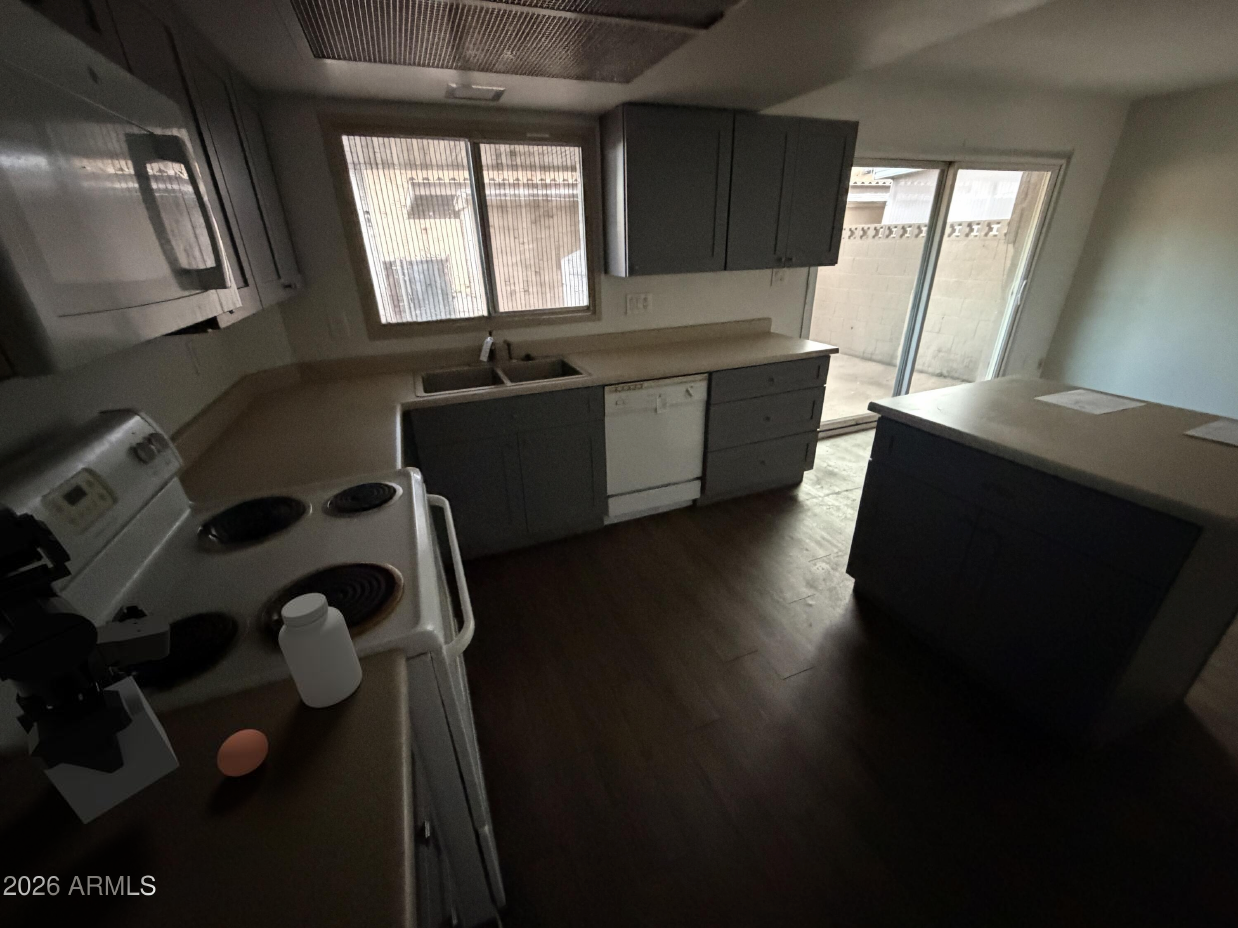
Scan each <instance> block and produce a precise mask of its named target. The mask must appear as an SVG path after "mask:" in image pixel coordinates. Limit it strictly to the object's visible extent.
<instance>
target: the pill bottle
mask: <svg viewBox="0 0 1238 928" xmlns="http://www.w3.org/2000/svg"><path fill="white" fill-rule="evenodd" d="M280 613H281V618H282V621H283V624H284V625H282V627H281V628H280V631H279V634H278V645H279V647H280V649H281V652H282V655H283V656H284V659H285V661H286V663H287V666H288V669H289V671H290V673H291V676H292V679H293V681H294V683H295V685H296V688H297V690H298V693H299V694H300V697H301V699H302V701H303V703H304V704H305V705H307V706H309V707H310V708H319V709H320V708H326V707H329V706H333V705H336V704H337V703H340V702H342V701H343V700H345V699H346V698H348V697H349V696H351V694H353V693H354V692H355V691H356V690H357V688H358V687H359V685H360V684H361V682H362V678H363V671H362V668H361V664H360V662H359V661H360V660H359V659H358V656H357V655H358V654H357V652H356V650H355V647H354V644H353V641H352V638H351V636H350V633H349V629H348V626H347V624H346V621H345V618H344V615H343V614H342V612H340V610H339V609H338V608H335V607H333V606H329V604H328V600H327V598H326V596H325V595H324V594H322V593H319V592H312V593H311V592H310V593H306V594H303V595H299V596H297V597H295V598H294V599H292V600H290V601H289V602H287V603H286V604H285V605H284V606H283V607H282V609H281V612H280Z"/></svg>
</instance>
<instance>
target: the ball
mask: <svg viewBox="0 0 1238 928" xmlns="http://www.w3.org/2000/svg"><path fill="white" fill-rule="evenodd" d="M268 749H269V742H268V738H267V737H266V735H265V734H264V733H263V732H261V731H260V730H257V729H243V730H240V731H238V732H235V733H234V734H232V735H230V736H229V737H228V738H227V739H226V740H225V741H224V742H223V743H222V745H221V747H220V748H219V750H218V753H217V757H216V764H217V766H218V769H219V770H220V771H221V773H222V774H224V775H226V776H230V777H240V776H245V775H247V774H250V773H251V772H253V771H254V770H255V769H257V768H259V766H260V765H261V764H262V763H263V761H264V760H265V758H266V756H267V754H268Z"/></svg>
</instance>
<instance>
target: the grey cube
mask: <svg viewBox="0 0 1238 928" xmlns="http://www.w3.org/2000/svg"><path fill="white" fill-rule="evenodd" d="M103 690H118V691H119V692H120V694H121V695H122V697H123V699H124V701H125V703H126V704H127V706H128V709H129V711H130V714H131V717H132V719H133V722H132V723H131V724H130V725H129V726H128V727H127V728H126V729H124V730H122V731H120V732H118V733H117V738H118V742H119V746H120V750H121V754H122V758H123V762H124V766H123V767H122V768H120V769H118V770H117V771H115V772H113V773H106V772H101V771H97V770H93V769H89V768H84V767H80V766H75V765H70V764H64V763H61V764H59V765H57V766H56V767H54V768H52V769H49V770H42V772H43V773H45V775H46V776H47V777H48V779H49V781H51V783H52V784H53V785H54V786H55V788H56V789H57V790H58V791H59V793H60V794H61V796H62V797H63V798H64V800H65V801H66V802H67V803H68V804H69V806H70V807H71V809H72V810H73V811H74V812H75V814H76V815H77V816H78V818H79V819H80V820H81V821H82V823H83V824H84V825H86V824H89V822H91V821H93V820H94V819H96V818H98V817H100V816H101V815H102V814H104V813H106V812H108V811H109V810H111V809H112V808H114V807H115V806H117V805H119V804H121V803H122V802H123V801H125V800H127V799H128V798H130V797H132V796H133V795H135V794H137V793H139V792H140V791H142V790H143V789H145V788H146V787H148V786H150V785H151V784H153V783H154V782H156V781H157V780H159V779H161V778H162V777H165V776H166V775H168V774H169V773H171V772H173V771H174V770H176V769H177V768H179V767H180V763H179V761H178V758H177V756H176V753H175V751H174V750H173V748H172V745H171V743H170V740H169V738H168V736H167V733H166V731H165V729H164V728H163V726H162V724H161V723H160V721H159V719H158V717H157V715H156V714H155V712H154V711H153V709H152V708H151V706H150V704H149V703H148V700H147V699H146V697H145V696H144V694H143V692H142V691H141V689H140V688H139V685H138V684H137V683H136V681H135V679H134V677H133V676H132V675H130V676H128V678H126V679H124V680H122V681H120V682H117V683H115V684H113V685H111V686H109V687H107V688H105V689H103ZM34 724H35V723H34Z"/></svg>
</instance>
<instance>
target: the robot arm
mask: <svg viewBox="0 0 1238 928" xmlns="http://www.w3.org/2000/svg"><path fill="white" fill-rule="evenodd" d="M39 550H40V551H41V552H42V553H43V555H44V556H45V558H46V559H47V560H48V561H49V562H50V564H51V565H52V566H50V567H49V565H48V564H47V563H42V564H40V565H37V566H34V567H31V568H29V569H25V570H24V568H25V567H26V568H27V567H28V566H31V565H33V564H34V565H35V564H36V563H39V562H41V561H42V562H43V559H44V556H43V555H42V553H41V552H40V551H39ZM69 562H72V559H71V555H70V553H68V551H67V550H66V549H65V547H64V546H63V545H62V543H61V542H60V541H59V539H58V538H57V537H56V535H55V533H53V532H52V530H51V529H50V528H49V526H48V525H47V524H46V522H45V521H44V520H41V519H37V518H35V516H34V515H33V514H29V512H24V513H21V514H17V512H16V511H15V510H14V509H13V507H11V506H9V505H8V504H7V503H6V502H5V501H0V680H1V681H2V682H6V681H8V682H10V684H11V685H12V687H13V689H15V691H16V695H15V696H16V697H15V701H16V703H17V704H18V706H19V707H20V709H21V710H22V711H23V712H22V713H20V714H18V715H17V716H15V718H16V720H17V721H18V723H19V724H20V726H21V727H22V729H23V730H24V731H25V733H26V734H27V736H26V738H27V740H26V741H27V747H28V755H29V758H30V759H31V761H33V763H34V764H35V766H36V767H37V768H38V769H39V771H42V772H43V770H49V769H52V768H54V767H56V766H57V765H59V764H61V763H64V764H70V765H75V766H80V767H84V768H89V769H93V770H97V771H101V772H106V773H113V772H115V771H117V770H118V769H120V768H122V767H123V766H124V762H123V758H122V754H121V750H120V746H119V742H118V738H117V733H118V732H120V731H122V730H124V729H126V728H127V727H128V726H129V725H130V724H131V723H132V722H133V719H132V717H131V714H130V711H129V709H128V706H127V704H126V703H125V701H124V699H123V697H122V695H121V694H120V692H119V691H118V690H103V689H105V688H107V687H109V686H111V685H113V684H115V683H117V682H120V681H122V680H124V679H126V678H128V677H129V676H128V674H127V673H126V672H124V671H118V670H117V669H114V668H120V667H124V666H130V665H134V664H138V663H142V662H145V661H149V660H151V661H157V660H161V659H164V658H166V657H167V656H168V655H169V654H170V639H171V638H170V637H171V635H170V634H171V626H170V625H169V623H168V621H167V619H166V617H165V616H164V615H162V614H158V613H157V611H152V612H151V614H148V613H147V611H146V610H145V609H144V608H143V606H142V605H141V604H140V603H139V602H136V603H135V602H134V603H130V604H123V605H121V606H120V608H119V609H118V610H117V612H116V613H115V615H114V616H113V617H112V619H110V620H106V621H105V624H104V625H99V626H96V625H95V624H94V622H93V621H92V620H90V619H89V617H87V615H85V614H84V613H83V612H82V611H81V610H80V609H78V607H77V606H76V605H74V604H73V603H72V602H71V601H70V600H68V598H67V599H66V598H65V597H64V596H63V595H62V593H61V592H60V591H59V589H58V587H57V586H56V584H55V582H58V581H60V580H62V579H65V578H68V577H70V576H72V575H73V574H72V571H71V570H70V569H69V568H68V566H67V565H66V563H69ZM22 568H23V569H22ZM34 723H35V724H34Z"/></svg>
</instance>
